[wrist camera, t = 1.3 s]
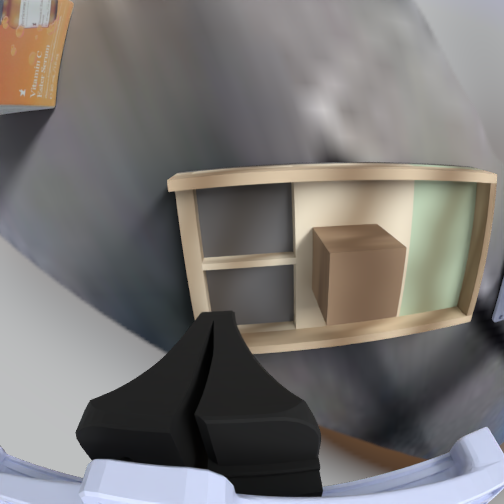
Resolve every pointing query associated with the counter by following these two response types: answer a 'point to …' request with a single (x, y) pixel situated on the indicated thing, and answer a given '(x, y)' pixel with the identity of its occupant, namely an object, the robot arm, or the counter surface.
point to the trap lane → (321, 215)
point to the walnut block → (356, 273)
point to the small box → (31, 52)
